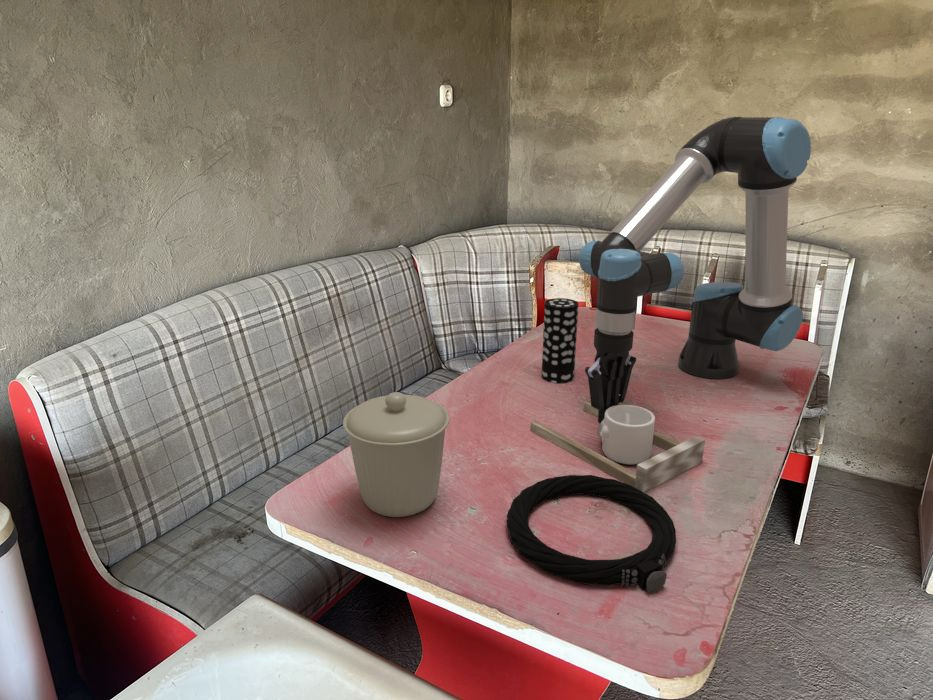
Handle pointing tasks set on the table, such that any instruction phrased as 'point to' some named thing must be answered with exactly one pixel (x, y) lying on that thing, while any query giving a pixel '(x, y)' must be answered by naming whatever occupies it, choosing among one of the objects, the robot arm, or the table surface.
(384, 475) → the canister
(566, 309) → the spotted tube
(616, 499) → the cable lock
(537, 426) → the guide channel
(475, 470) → the table surface
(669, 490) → the table surface
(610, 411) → the mug
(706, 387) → the table surface
